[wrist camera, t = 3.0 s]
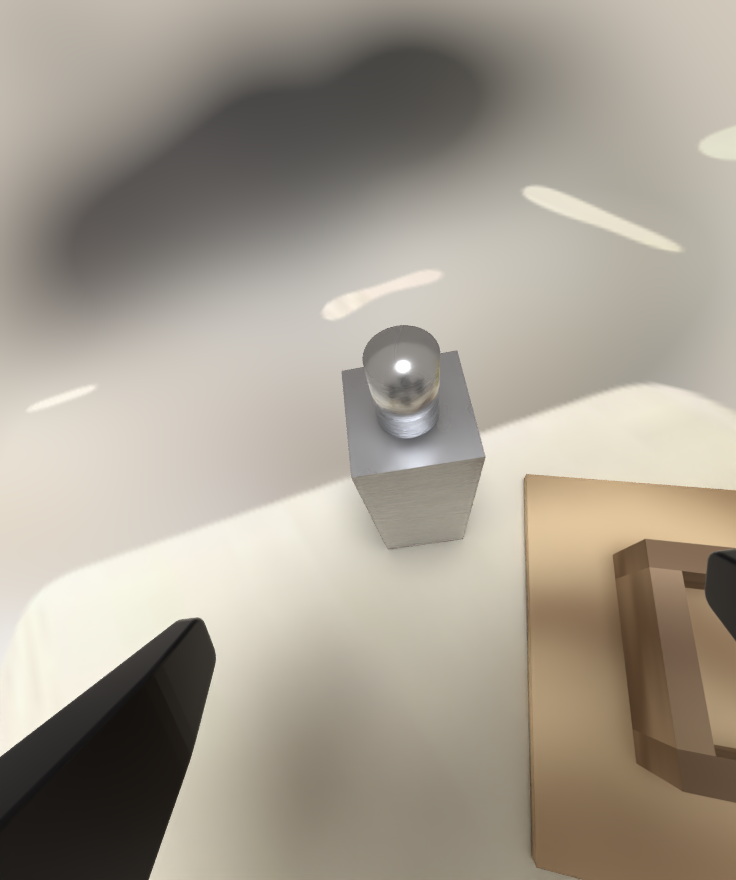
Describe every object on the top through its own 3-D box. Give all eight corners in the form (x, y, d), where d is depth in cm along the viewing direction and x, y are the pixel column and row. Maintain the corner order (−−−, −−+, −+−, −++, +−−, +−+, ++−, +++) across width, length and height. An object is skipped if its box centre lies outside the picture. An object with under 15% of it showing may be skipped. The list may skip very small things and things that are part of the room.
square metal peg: (462, 538, 19) (498, 407, 8) (387, 549, 19) (329, 435, 9) (447, 469, 21) (461, 286, 10) (379, 479, 21) (321, 313, 10)
